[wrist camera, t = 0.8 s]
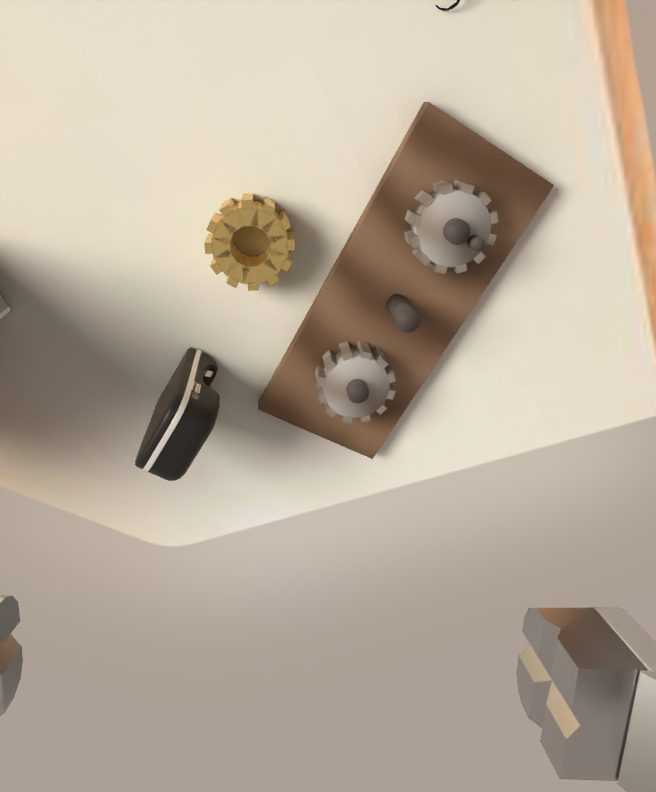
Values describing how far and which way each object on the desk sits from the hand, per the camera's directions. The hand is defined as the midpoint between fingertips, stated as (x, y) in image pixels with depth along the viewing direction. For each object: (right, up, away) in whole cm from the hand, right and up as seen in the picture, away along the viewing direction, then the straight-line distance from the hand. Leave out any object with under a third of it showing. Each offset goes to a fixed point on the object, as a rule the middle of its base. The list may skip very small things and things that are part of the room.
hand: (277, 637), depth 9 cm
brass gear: (-5, +17, +37) cm, 41 cm away
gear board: (+6, +12, +41) cm, 43 cm away
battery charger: (-11, +5, +43) cm, 44 cm away
